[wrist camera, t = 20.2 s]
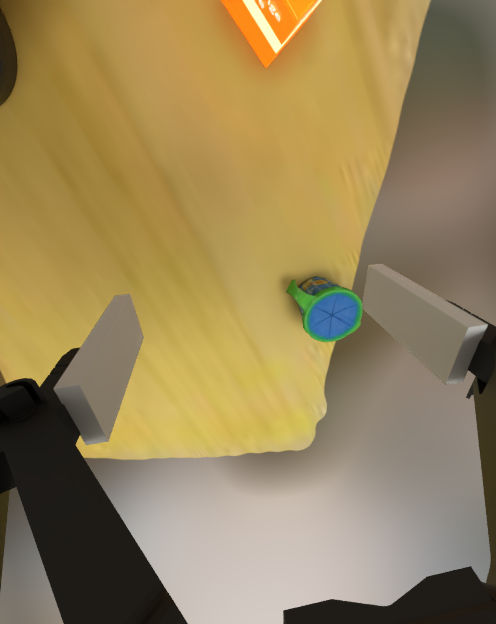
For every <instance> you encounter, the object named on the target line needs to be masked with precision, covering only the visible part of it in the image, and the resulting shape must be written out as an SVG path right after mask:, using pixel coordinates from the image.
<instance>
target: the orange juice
mask: <svg viewBox="0 0 496 624" xmlns="http://www.w3.org/2000/svg"><path fill="white" fill-rule="evenodd" d="M221 1H222V2H223V4H224V5H225V7H226V8H227V10H228V11H229V13H230V14H231V16H232V17H233V19H234V20H235V22H236V23H237V25H238V26H239V28H240V30H241V31H242V33H243V34H244V36H245V37H246V39H247V40H248V42H249V43H250V45H251V46H252V48H253V49H254V51H255V52H256V54H257V55H258V57H259V58H260V60H261V61H262V63H263V64H264V66H265V68H267V67H268V65H269V64H270V63H271V62H272V61H273V59H274V58H275V57H276V56H277V55H278V54H279V52H280V51H281V50H282V49H283V48H284V47H285V45H286V44H287V43H288V42H289V41H290V39H291V38H292V37H293V36H294V35H295V34H296V32H297V31H298V30H299V29H300V28H301V27H302V25H303V24H304V23H305V22H306V21H307V19H308V18H309V17H310V15H311V14H312V13H313V11H314V10H315V9H316V7H317V6H318V5H319V3H320V2H321V0H221Z"/></svg>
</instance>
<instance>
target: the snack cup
mask: <svg viewBox="0 0 496 624" xmlns="http://www.w3.org/2000/svg"><path fill="white" fill-rule="evenodd" d="M286 291H287V293H289V294H290V295H291V296H292V297H293V298H294V299H295V300H296V302H298V305H299V308H300V311H301V314H302V321H303V328H304V330H305V332H307V333H308V334H309V335H310V336H311V337H312V338H313V339H315V340H318V341H322V342H332V341H336V340H339V339H341V338H343V337H345V336H347V335H348V334H350V333H353V332H354V331H355V330H356V329H357V328H358V327H359V326H360V324H361V323H360V319H361V316H362V310H363V309H362V302H361V299H360V298H359V297H358V296H357V295H356V294H355V293H354V292H352V291H351V290H349V289H347V288H344V287H340V286H338V285H337V284H335V283H333V282H331V281H329V280H327V279H325V278H321V277H314V278H312V279H309V280H307V281H306V282H305V283H303V284H302V285H301V286H300V288H298V287H297V285H296V281H295V280H292V281H291V283H290V285H289V286H288V288H287V290H286Z"/></svg>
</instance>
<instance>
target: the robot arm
mask: <svg viewBox="0 0 496 624" xmlns="http://www.w3.org/2000/svg"><path fill="white" fill-rule="evenodd" d="M16 72H17V59H16V51H15V46H14V41H13V38H12V35H11V32H10V29H9V26H8V24H7V22H6V19H5V17H4V15H3V13H2V11H1V9H0V104H2V103H3V102H4V101H5V100H6V99H7V97H8V96H9V94H10V93H11V91H12V89H13V86H14V83H15V79H16ZM362 308H363V309H364V310H365V311H366V312H367V313H368V314H369V315H370V316H371V317H372V318H373V319H375V320H376V321H377V322H378V323H379V324H380V325H381V326H382V327H383V328H384V329H385V330H386V331H387V332H389V333H390V334H391V335H392V336H393V337H394V338H395V339H396V340H397V341H398V342H399V343H401V344H402V345H403V346H404V347H405V348H406V349H407V350H408V351H409V352H410V353H411V354H412V355H414V356H415V357H416V358H417V359H418V360H419V361H420V362H421V363H422V364H423V365H424V366H425V367H426V368H428V369H429V370H430V371H431V372H432V373H433V374H434V375H435V376H436V377H437V378H438V379H439V380H441V381H442V382H443V383H444V384H445V385H447V384H454V383H460V382H463V380H464V378H465V376H466V373H467V371H468V370H469V371H470V372H471V373H473V374H474V375H475V376H476V377H475V379H474V381H473V383H472V385H471V387H470V389H469V392H468V394H467V397H466V398H470V397H471V395H474V402H475V411H476V420H477V430H478V440H479V449H480V458H481V468H482V477H483V487H484V496H485V506H486V515H487V525H488V534H489V543H490V553H491V564H490V569H489V573H488V577H487V582H486V583H483V582H481V581H480V580H479V578H478V577H477V575H476V574H475V572H474V571H473V569H472V567H471V566H470V567H466V568H462V569H458V570H453V571H449V572H445V573H441V574H437V575H432V576H428V577H426V578H425V579H424V580H422V581H421V582H420V583H419V584H417V585H416V586H415V587H413V588H412V589H411V590H410V591H408V592H407V593H406V594H405V595H403V596H402V597H401V598H399V599H398V600H397V601H395V602H394V603H393V604H391V605H389V606H377V605H370V604H362V603H355V602H348V601H341V600H334V599H330V600H326V601H322V602H318V603H313V604H309V605H305V606H301V607H297V608H292V609H288V610H284V611H283V613H284V624H496V327H495V326H494V325H492V324H490V323H488V322H486V321H485V320H483V319H481V318H479V317H478V316H476V315H474V314H471V313H470V312H469V311H467V310H465V309H463V308H461V307H460V306H458V305H456V304H455V303H453V302H450V301H447V300H444V299H442V298H440V297H439V296H437V295H435V294H434V293H432V292H430V291H428V290H427V289H425V288H423V287H421V286H420V285H418V284H416V283H414V282H413V281H411V280H409V279H407V278H406V277H404V276H402V275H400V274H399V273H397V272H395V271H393V270H391V269H390V268H388V267H386V266H385V265H383V264H374V265H369V266H368V272H367V279H366V286H365V291H364V298H363V304H362ZM143 338H144V337H143V334H142V330H141V327H140V324H139V321H138V318H137V315H136V311H135V308H134V305H133V302H132V299H131V295H130V294H124V295H116V296H114V298H113V299H112V301H111V302H110V304H109V305H108V307H107V308H106V310H105V311H104V313H103V314H102V316H101V317H100V319H99V320H98V322H97V323H96V325H95V326H94V328H93V329H92V331H91V332H90V334H89V335H88V337H87V339H86V340H85V342H84V343H83V345H82V346H81V348H74V349H71V350H70V351H69V352H67V353H66V354H65V355H64V356H62V357H61V359H60V360H59V361H58V363H57V364H56V366H55V368H53V370H52V371H51V372H50V375H48V377H47V378H46V379H45V381H44V382H43V383H42V385H41V386H40V388H39V386H38V384H37V383H36V381H34V380H33V379H28V378H23V379H18V380H14V381H12V382H9V383H7V384H4V385H2V386H1V387H0V589H1V577H2V566H3V556H4V545H5V534H6V523H7V512H8V501H9V490H10V489H12V488H15V487H17V490H18V492H19V496H20V498H21V501H22V504H23V507H24V510H25V513H26V516H27V519H28V521H29V525H30V527H31V530H32V533H33V536H34V539H35V542H36V545H37V548H38V551H39V553H40V556H41V559H42V562H43V565H44V568H45V571H46V574H47V576H48V579H49V582H50V585H51V588H52V591H53V594H54V597H55V600H56V602H57V606H58V608H59V611H60V614H61V617H62V620H63V623H64V624H187V622H186V620H185V619H184V617H183V615H182V614H181V612H180V611H179V609H178V607H177V606H176V604H175V603H174V601H173V600H172V598H171V596H170V595H169V593H168V592H167V590H166V589H165V588H164V586H163V584H162V582H161V581H160V579H159V578H158V576H157V574H156V573H155V571H154V570H153V568H152V567H151V565H150V563H149V562H148V560H147V559H146V557H145V555H144V554H143V552H142V550H141V549H140V547H139V546H138V544H137V543H136V541H135V539H134V538H133V536H132V535H131V533H130V531H129V530H128V528H127V527H126V525H125V523H124V522H123V520H122V519H121V517H120V515H119V514H118V512H117V511H116V509H115V508H114V506H113V504H112V503H111V501H110V499H109V498H108V496H107V495H106V493H105V491H104V490H103V488H102V487H101V485H100V484H99V482H98V480H97V479H96V478H95V476H94V474H93V472H92V471H91V469H90V468H89V466H88V465H87V463H86V461H85V460H84V458H83V456H82V455H81V453H80V452H79V450H78V448H77V447H76V442H77V440H78V438H79V436H80V435H81V437H82V439H83V441H84V442H85V444H86V445H89V444H95V443H101V442H107V441H109V438H110V435H111V432H112V429H113V426H114V423H115V420H116V417H117V414H118V411H119V409H120V406H121V403H122V400H123V397H124V394H125V391H126V388H127V385H128V382H129V379H130V376H131V373H132V370H133V367H134V364H135V361H136V358H137V356H138V353H139V350H140V347H141V344H142V341H143Z"/></svg>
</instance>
